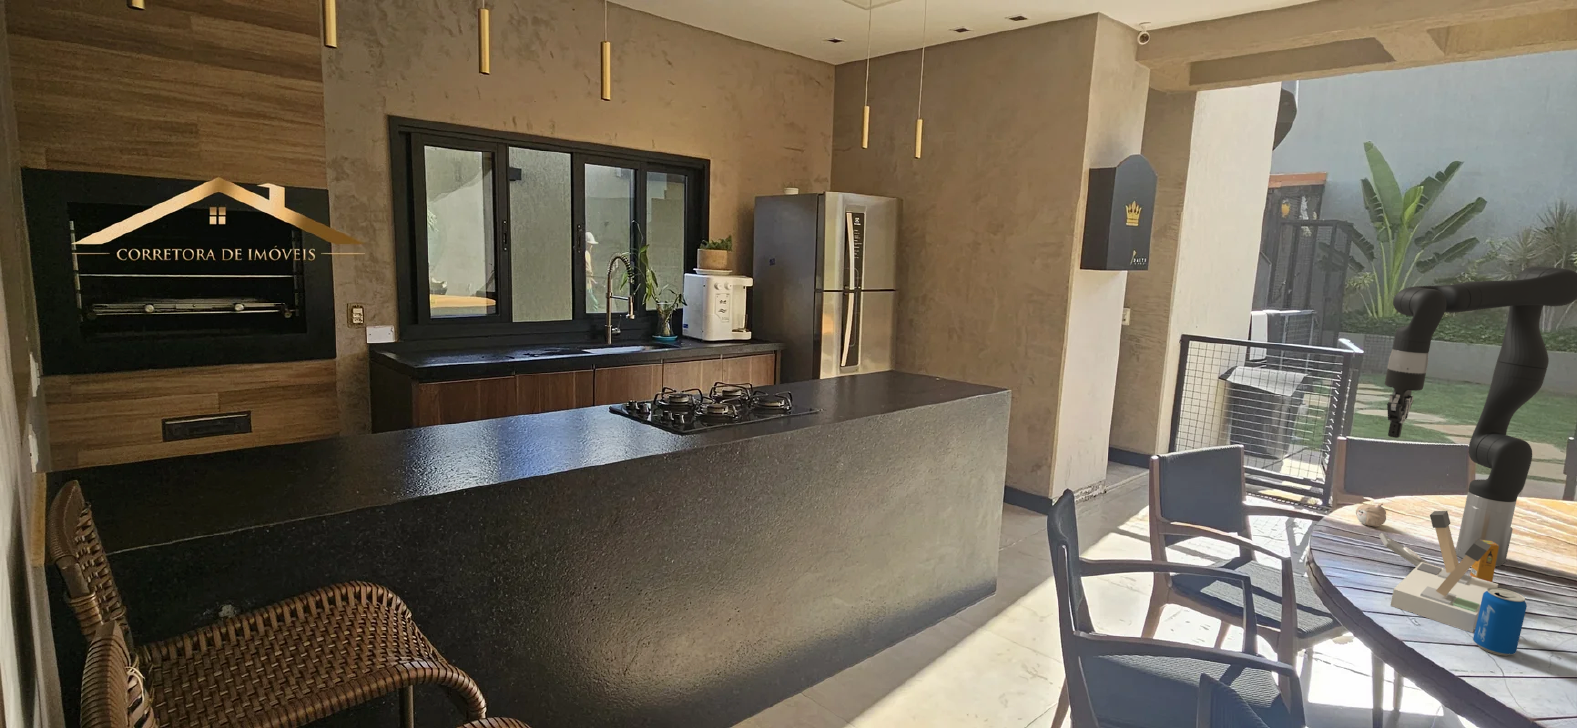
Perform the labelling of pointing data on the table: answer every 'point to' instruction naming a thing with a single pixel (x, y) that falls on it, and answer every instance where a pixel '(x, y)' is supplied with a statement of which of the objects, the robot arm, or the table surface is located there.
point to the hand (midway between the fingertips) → (1393, 436)
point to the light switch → (1402, 550)
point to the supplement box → (1486, 563)
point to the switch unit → (1441, 596)
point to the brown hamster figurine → (1371, 514)
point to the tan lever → (1464, 566)
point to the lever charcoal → (1445, 539)
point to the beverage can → (1500, 621)
